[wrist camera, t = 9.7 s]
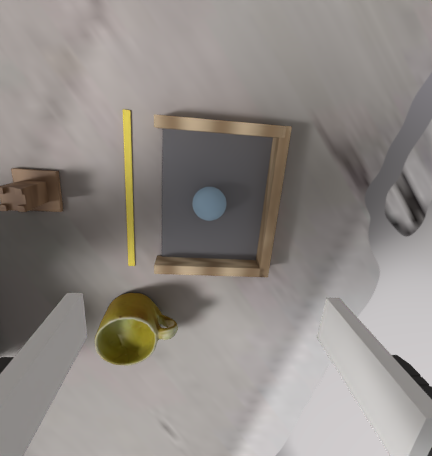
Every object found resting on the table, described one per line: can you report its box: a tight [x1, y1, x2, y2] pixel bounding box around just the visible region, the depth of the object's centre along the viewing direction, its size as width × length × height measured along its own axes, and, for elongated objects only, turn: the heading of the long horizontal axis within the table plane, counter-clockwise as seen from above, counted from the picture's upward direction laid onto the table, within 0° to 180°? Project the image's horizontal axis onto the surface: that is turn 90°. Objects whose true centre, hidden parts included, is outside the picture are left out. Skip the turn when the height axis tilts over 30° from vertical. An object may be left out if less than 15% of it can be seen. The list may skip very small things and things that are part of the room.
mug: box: [95, 293, 178, 365], centre depth 43 cm, size 12×10×10 cm
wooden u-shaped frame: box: [154, 115, 292, 277], centre depth 39 cm, size 18×23×4 cm
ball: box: [192, 187, 226, 221], centre depth 38 cm, size 5×5×5 cm
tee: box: [0, 168, 63, 212], centre depth 35 cm, size 6×6×6 cm
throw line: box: [123, 110, 135, 266], centre depth 40 cm, size 1×24×1 cm, turn 175°
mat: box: [162, 128, 273, 260], centre depth 41 cm, size 16×20×1 cm
